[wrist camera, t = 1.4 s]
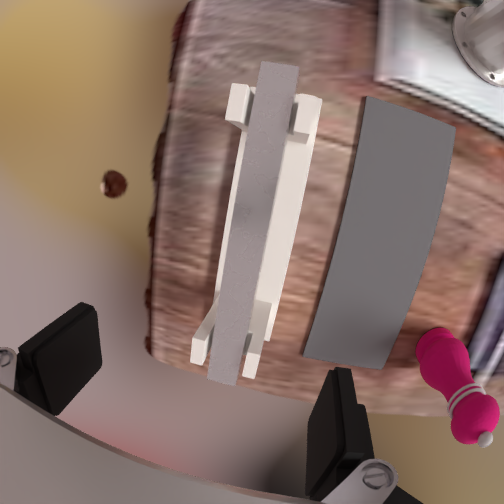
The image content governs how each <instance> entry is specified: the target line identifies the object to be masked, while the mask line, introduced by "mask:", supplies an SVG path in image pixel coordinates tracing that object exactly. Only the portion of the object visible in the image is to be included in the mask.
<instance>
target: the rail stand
mask: <svg viewBox="0 0 504 504" xmlns="http://www.w3.org/2000/svg"><path fill="white" fill-rule="evenodd" d="M255 91H256V87H250V88H249V86H248V85H245V84H236V83H232V86H231V91H230V96H229V101H228V106H227V111H226V116H225V120H226V121H228V122H230V123H231V124H233V125H235V126H237V127H238V128H240V129H242V133H241V138H240V143H239V149H238V154H237V159H236V165H235V171H234V176H233V182H232V188H231V193H230V199H229V205H228V211H227V217H226V223H225V229H224V235H223V241H222V247H221V254H220V260H219V267H218V273H217V280H216V286H215V293H214V300H213V305H212V307H211V309H210V310H209V312H208V314H207V315H206V317H205V318H204V320H203V322H202V323H201V325H200V327H199V328H198V330H197V331H196V333H195V335H194V336H193V339H192V349H191V359H190V362H191V363H195V364H198V365H202V364H203V362H204V360H205V358H206V356H207V354H208V352H209V350H210V348H211V346H212V341H213V334H214V327H215V320H216V314H217V307H218V301H219V294H220V288H221V281H222V275H223V269H224V263H225V256H226V250H227V244H228V238H229V232H230V226H231V221H232V215H233V209H234V203H235V197H236V192H237V186H238V181H239V175H240V170H241V164H242V159H243V153H244V148H245V142H246V137H247V132H248V127H249V121H250V116H251V111H252V106H253V101H254V96H255ZM321 104H322V99H320V98H317V97H316V96H312V95H307V94H302V93H301V94H296V97H295V103H294V108H293V113H292V119H291V124H290V129H289V134H288V139H287V145H286V150H285V155H284V160H283V165H282V170H281V175H280V180H279V185H278V190H277V195H276V200H275V205H274V210H273V215H272V220H271V225H270V230H269V235H268V240H267V245H266V250H265V255H264V260H263V264H262V269H261V274H260V279H259V284H258V288H257V293H256V298H255V303H254V307H253V312H252V317H251V322H250V326H249V331H248V336H247V340H246V345H245V350H244V354H243V355H247V357H246V361H245V365H244V370H243V374H242V376H244V377H248V378H252V379H254V378H255V375H256V371H257V367H258V363H259V359H260V355H261V351H262V346H263V342H264V340H265V341H269V340H270V336H271V332H272V328H273V325H274V321H275V317H276V313H277V309H278V305H279V300H280V296H281V292H282V288H283V284H284V280H285V276H286V271H287V267H288V263H289V259H290V254H291V250H292V246H293V241H294V237H295V232H296V228H297V223H298V219H299V214H300V210H301V205H302V200H303V196H304V191H305V186H306V181H307V176H308V172H309V167H310V162H311V157H312V152H313V147H314V141H315V136H316V131H317V126H318V120H319V115H320V109H321Z"/></svg>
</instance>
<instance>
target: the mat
mask: <svg viewBox="0 0 504 504" xmlns="http://www.w3.org/2000/svg"><path fill="white" fill-rule="evenodd" d="M455 132H456V128H455V127H453V126H451V125H449V124H446V123H444V122H441V121H439V120H436V119H434V118H431V117H429V116H426V115H424V114H421V113H418V112H415V111H413V110H410V109H407V108H404V107H401V106H398V105H395V104H392V103H389V102H386V101H383V100H379V99H376V98H373V97H369V96H366V101H365V108H364V114H363V119H362V125H361V131H360V136H359V142H358V147H357V152H356V157H355V162H354V167H353V172H352V177H351V181H350V186H349V190H348V195H347V199H346V203H345V208H344V212H343V216H342V220H341V224H340V228H339V232H338V236H337V240H336V244H335V248H334V252H333V256H332V259H331V263H330V267H329V270H328V274H327V277H326V281H325V284H324V288H323V291H322V295H321V298H320V302H319V305H318V308H317V311H316V315H315V318H314V321H313V324H312V328H311V331H310V334H309V337H308V340H307V343H306V346H305V349H304V352H303V357H306V358H312V359H317V360H322V361H328V362H334V363H340V364H346V365H352V366H359V367H365V368H372V369H379V370H382V368H383V366H384V364H385V362H386V360H387V358H388V356H389V354H390V352H391V349H392V347H393V345H394V343H395V341H396V338H397V336H398V334H399V331H400V329H401V327H402V324H403V322H404V320H405V317H406V315H407V312H408V310H409V307H410V305H411V302H412V299H413V297H414V294H415V291H416V289H417V286H418V283H419V280H420V277H421V274H422V271H423V268H424V265H425V262H426V259H427V256H428V253H429V250H430V246H431V243H432V240H433V236H434V233H435V229H436V225H437V222H438V218H439V214H440V210H441V206H442V202H443V197H444V193H445V189H446V184H447V179H448V174H449V169H450V163H451V158H452V152H453V145H454V139H455Z"/></svg>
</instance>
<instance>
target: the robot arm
mask: <svg viewBox="0 0 504 504" xmlns="http://www.w3.org/2000/svg"><path fill="white" fill-rule="evenodd" d="M452 30H453V35H454V39H455V42H456V44H457V47H458V49H459V51H460V53H461V54H462V56H463V57H464V59H465V60H466V62H467V63H468V64H469V66H470V67H471V68H472V69H473V70H474V71H475V72H476V73H477V74H478V75H479V76H480V77H481V78H483V79H484V80H485V81H487V82H489V83H490V84H492V85H495V86H497V87H503V88H504V0H483V3H482V4H481V5H480V6H479V7H474V6H468V7H464V8H462V9H460V10H459V11H458V12H457V13H456V14H455V16H454V18H453V22H452ZM18 349H19V353H18V354H16V353H15V351H14V350H12V349H11V348H8V347H0V504H423V503H421V502H420V501H418V500H417V499H415V498H414V497H412V496H411V495H410V494H408V493H407V492H405V491H404V490H402V489H401V488H400V487H398V486H397V483H398V474H397V471H396V470H395V468H394V467H393V466H392V465H391V464H390V463H388V462H386V461H384V460H380V459H375V458H374V452H373V446H372V440H371V434H370V429H369V424H368V418H367V413H366V408H365V406H364V405H363V404H357V399H356V393H355V388H354V382H353V377H352V372H351V369H348V368H341V367H335V368H334V370H329V372H328V374H327V376H326V379H325V382H324V384H323V386H322V389H321V391H320V394H319V396H318V399H317V401H316V403H315V406H314V408H313V410H312V413H311V415H310V418H309V421H308V433H307V463H306V464H307V465H306V484H305V485H306V486H305V495H306V496H310V500H307V499H302V498H296V497H290V496H284V495H278V494H271V493H266V492H260V491H255V490H250V489H245V488H240V487H236V486H231V485H227V484H222V483H218V482H214V481H210V480H207V479H203V478H199V477H196V476H192V475H189V474H186V473H182V472H179V471H176V470H173V469H170V468H167V467H164V466H161V465H158V464H155V463H153V462H150V461H147V460H145V459H142V458H140V457H137V456H135V455H132V454H130V453H127V452H125V451H122V450H120V449H118V448H116V447H113V446H111V445H109V444H107V443H105V442H102V441H100V440H98V439H96V438H94V437H92V436H90V435H88V434H86V433H84V432H82V431H80V430H78V429H76V428H74V427H73V426H71V425H69V424H67V423H65V422H64V421H62V420H60V419H58V418H57V417H55V415H56V416H57V415H59V414H60V413H61V412H62V411H63V409H64V408H65V407H66V406H67V405H68V404H69V403H70V402H71V400H72V399H73V398H74V397H75V396H76V395H77V394H78V392H80V390H81V389H82V388H83V387H84V386H85V385H86V384H87V383H88V382H89V380H90V379H91V378H92V377H93V376H94V375H95V374H96V373H97V372H98V371H99V369H100V368H101V366H102V355H101V347H100V338H99V328H98V318H97V312H96V311H95V309H94V307H93V306H91V305H89V304H86V303H83V302H80V303H78V304H77V305H76V306H74V307H73V308H72V309H70V310H69V311H67V312H66V313H64V314H63V315H62V316H60V317H59V318H57V319H56V320H55V321H53V322H52V323H50V324H49V325H48V326H46V327H45V328H44V329H42V330H41V331H40V332H38V333H37V334H36V335H34V336H33V337H32V338H30V339H29V340H28V341H26V342H25V343H24V344H22V345H21V346H20V347H18Z"/></svg>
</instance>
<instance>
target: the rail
mask: <svg viewBox="0 0 504 504" xmlns="http://www.w3.org/2000/svg"><path fill="white" fill-rule="evenodd" d="M299 76H300V70H299V67H298V66H292V65H286V64H280V63H273V62H266V61H261V66H260V71H259V76H258V81H257V86H256V91H255V96H254V101H253V106H252V111H251V116H250V121H249V127H248V132H247V137H246V142H245V148H244V153H243V159H242V164H241V170H240V175H239V181H238V186H237V192H236V197H235V203H234V209H233V215H232V221H231V226H230V232H229V238H228V244H227V250H226V256H225V263H224V269H223V275H222V281H221V288H220V294H219V301H218V307H217V314H216V320H215V327H214V334H213V341H212V348H211V355H210V362H209V369H208V376H207V379H209V380H213V381H217V382H220V383H224V384H228V385H232V386H235V385H236V382H237V379H238V376H239V372H240V368H241V363H242V359H243V354H244V350H245V345H246V340H247V336H248V331H249V326H250V322H251V317H252V312H253V307H254V303H255V298H256V293H257V288H258V284H259V279H260V274H261V269H262V264H263V260H264V255H265V250H266V245H267V240H268V235H269V230H270V225H271V220H272V215H273V210H274V205H275V200H276V195H277V190H278V185H279V180H280V175H281V170H282V165H283V160H284V155H285V150H286V145H287V139H288V134H289V129H290V124H291V119H292V113H293V108H294V103H295V97H296V92H297V87H298V81H299Z"/></svg>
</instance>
